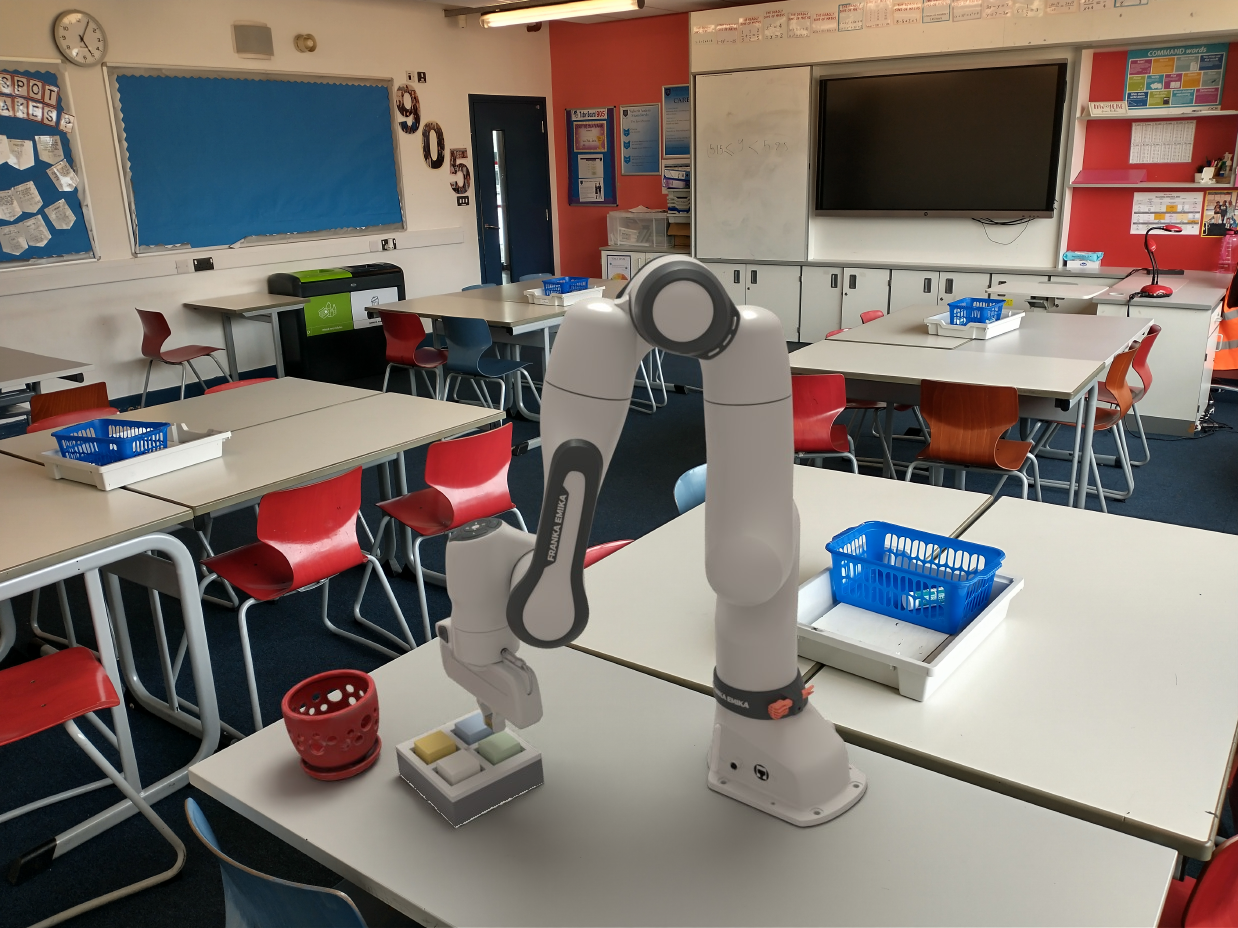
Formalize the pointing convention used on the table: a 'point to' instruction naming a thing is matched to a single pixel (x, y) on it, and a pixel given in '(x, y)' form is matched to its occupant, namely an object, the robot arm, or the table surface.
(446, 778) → the key grey
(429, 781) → the keypad
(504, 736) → the key sage
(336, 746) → the plant pot
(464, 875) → the table surface
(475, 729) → the key blue
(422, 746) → the key mustard
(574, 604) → the robot arm
